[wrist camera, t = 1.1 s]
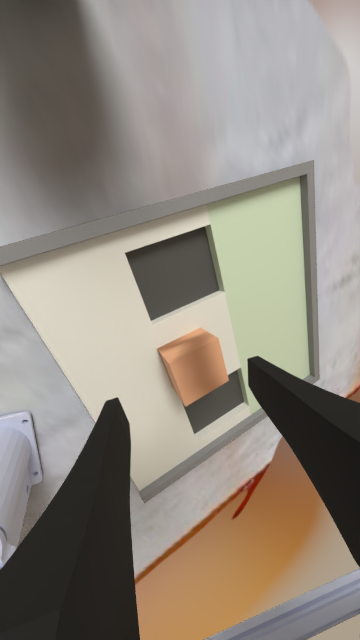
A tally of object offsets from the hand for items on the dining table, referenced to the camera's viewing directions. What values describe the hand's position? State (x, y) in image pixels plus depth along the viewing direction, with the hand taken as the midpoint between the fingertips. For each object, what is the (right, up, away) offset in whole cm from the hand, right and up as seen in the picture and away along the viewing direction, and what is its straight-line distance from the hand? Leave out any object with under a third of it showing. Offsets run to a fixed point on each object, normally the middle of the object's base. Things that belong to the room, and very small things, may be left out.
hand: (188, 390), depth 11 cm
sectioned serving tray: (+4, +1, +18) cm, 18 cm away
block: (0, -1, +15) cm, 15 cm away
